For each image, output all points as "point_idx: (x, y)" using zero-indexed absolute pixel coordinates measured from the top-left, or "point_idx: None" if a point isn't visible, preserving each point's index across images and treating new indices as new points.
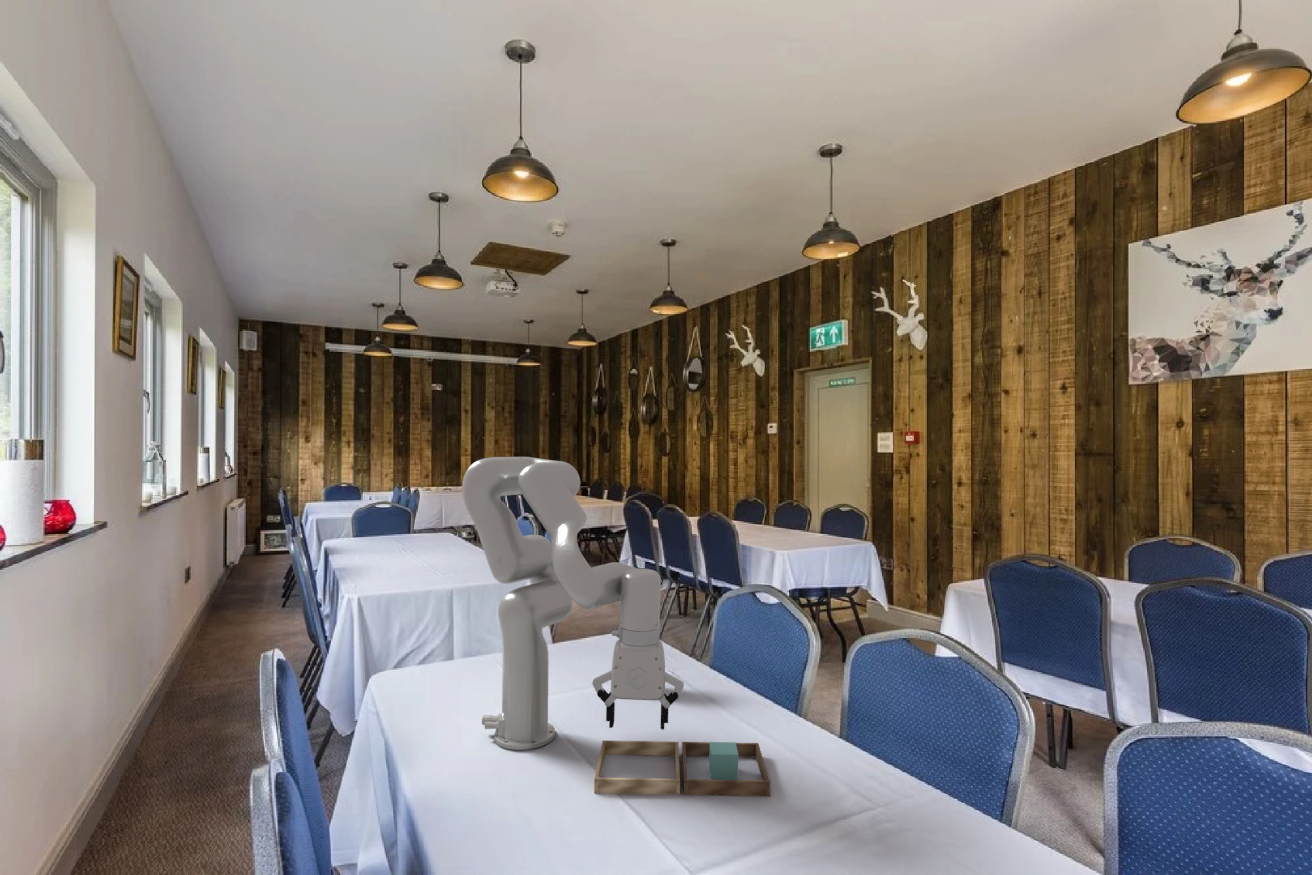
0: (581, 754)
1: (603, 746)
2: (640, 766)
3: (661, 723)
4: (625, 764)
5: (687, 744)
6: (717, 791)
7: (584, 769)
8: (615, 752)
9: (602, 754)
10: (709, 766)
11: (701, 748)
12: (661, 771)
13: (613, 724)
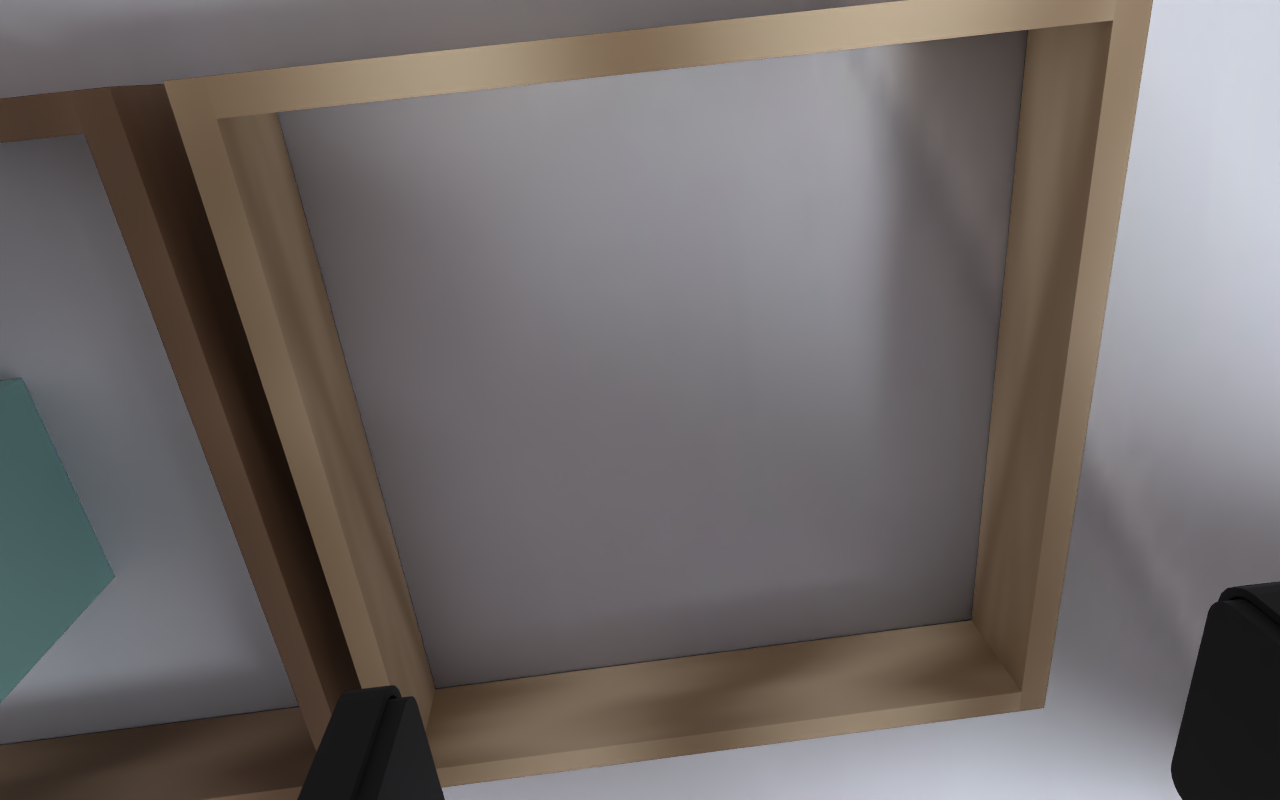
0: (1147, 591)
1: (1038, 620)
2: (682, 502)
3: (370, 768)
4: (806, 512)
5: None
6: None
7: (1134, 388)
8: (899, 640)
9: (1050, 492)
10: (91, 567)
11: (205, 765)
12: (496, 457)
13: (1206, 668)
